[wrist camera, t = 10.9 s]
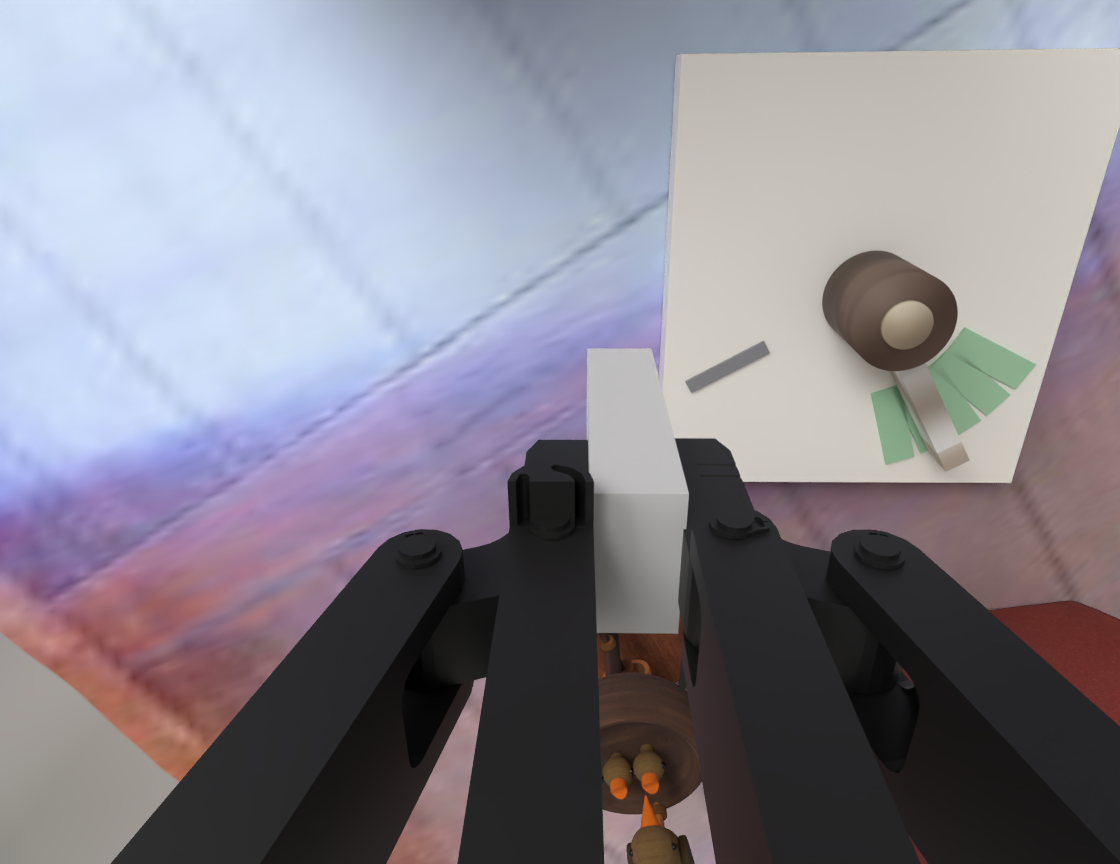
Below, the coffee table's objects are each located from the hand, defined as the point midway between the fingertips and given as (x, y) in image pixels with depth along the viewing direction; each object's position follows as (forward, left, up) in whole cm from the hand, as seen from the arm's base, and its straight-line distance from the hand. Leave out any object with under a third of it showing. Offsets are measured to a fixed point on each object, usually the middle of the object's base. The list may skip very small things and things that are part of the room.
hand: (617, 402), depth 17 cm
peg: (+8, +17, -24) cm, 30 cm away
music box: (+28, +2, -27) cm, 39 cm away
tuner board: (+4, +15, -26) cm, 31 cm away
